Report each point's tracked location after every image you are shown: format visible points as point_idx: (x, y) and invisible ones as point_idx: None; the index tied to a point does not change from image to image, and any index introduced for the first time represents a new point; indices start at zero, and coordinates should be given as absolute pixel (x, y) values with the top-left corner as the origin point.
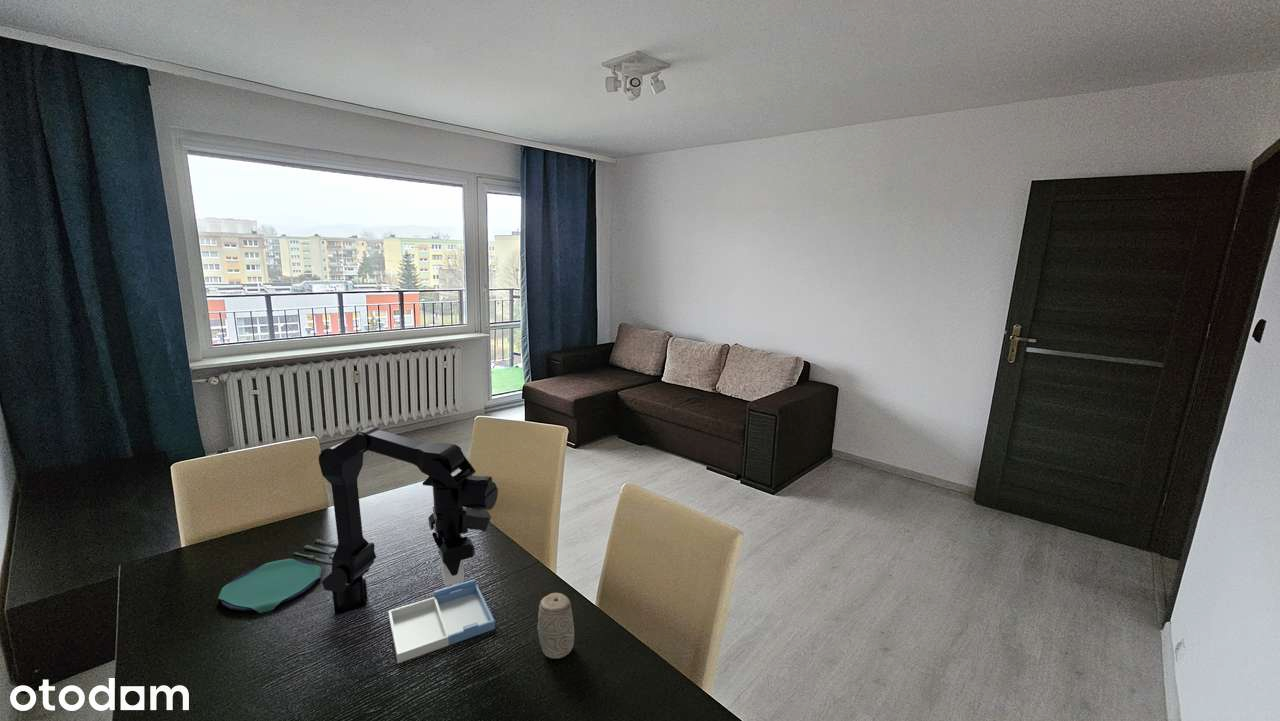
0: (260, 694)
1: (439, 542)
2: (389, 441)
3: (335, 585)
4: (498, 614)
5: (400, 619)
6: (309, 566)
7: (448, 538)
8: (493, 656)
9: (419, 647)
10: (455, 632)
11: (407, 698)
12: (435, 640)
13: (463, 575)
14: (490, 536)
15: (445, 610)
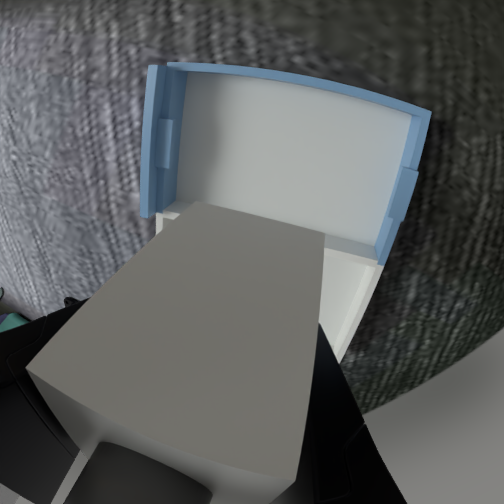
0: None
1: (53, 476)
2: None
3: None
4: (351, 54)
5: None
6: (8, 320)
7: (8, 455)
8: (497, 181)
9: (354, 330)
10: (345, 212)
11: (431, 360)
12: (367, 296)
13: (323, 258)
14: (5, 3)
15: (216, 188)
